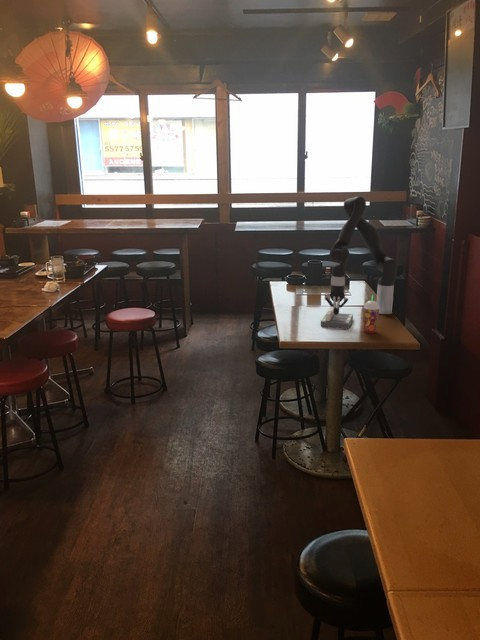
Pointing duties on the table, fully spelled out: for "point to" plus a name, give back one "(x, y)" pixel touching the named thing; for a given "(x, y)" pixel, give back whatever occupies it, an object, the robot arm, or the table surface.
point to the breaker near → (328, 316)
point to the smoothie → (370, 316)
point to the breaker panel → (338, 321)
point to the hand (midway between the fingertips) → (336, 314)
